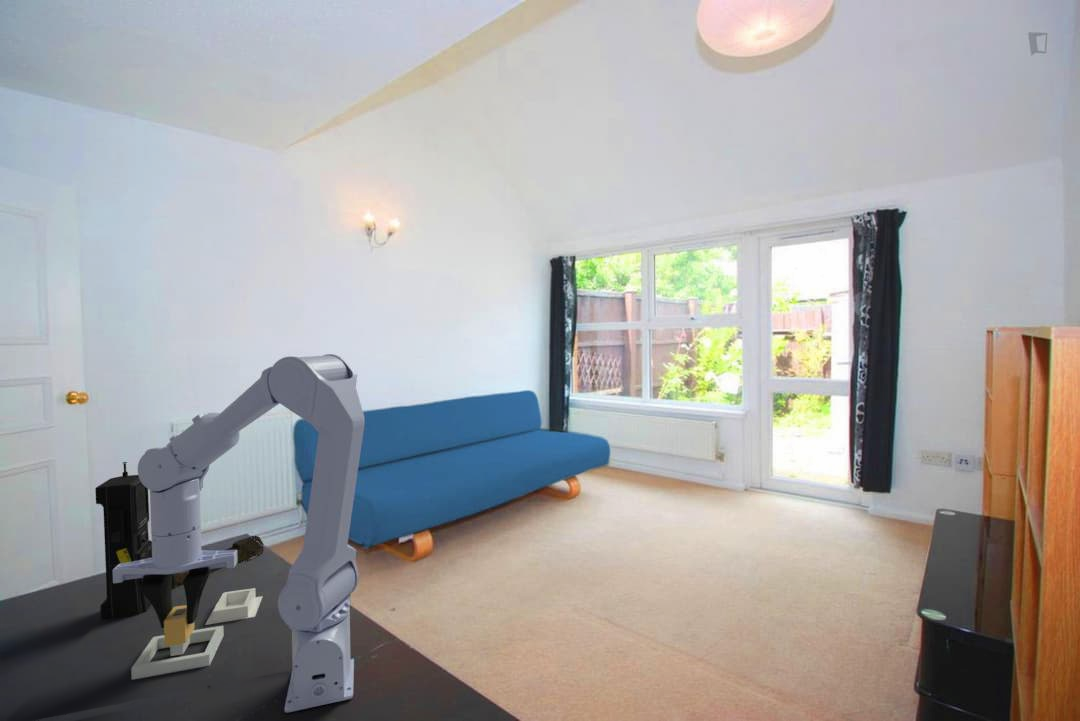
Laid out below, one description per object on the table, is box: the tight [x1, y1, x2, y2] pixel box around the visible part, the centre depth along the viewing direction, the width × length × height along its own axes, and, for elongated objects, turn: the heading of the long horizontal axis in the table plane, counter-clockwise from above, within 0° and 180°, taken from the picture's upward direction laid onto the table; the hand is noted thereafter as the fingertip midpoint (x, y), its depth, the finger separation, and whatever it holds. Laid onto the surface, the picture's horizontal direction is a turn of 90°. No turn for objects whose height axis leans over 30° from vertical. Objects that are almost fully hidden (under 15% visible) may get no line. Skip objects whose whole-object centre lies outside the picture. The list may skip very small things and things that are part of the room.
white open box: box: [205, 587, 264, 626], centre depth 85 cm, size 7×7×3 cm
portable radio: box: [94, 461, 152, 620], centre depth 85 cm, size 8×6×25 cm
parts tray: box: [130, 625, 225, 681], centre depth 73 cm, size 8×9×2 cm
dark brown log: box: [171, 535, 264, 590], centre depth 101 cm, size 19×4×5 cm, turn 151°
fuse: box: [163, 604, 196, 657], centre depth 73 cm, size 4×2×6 cm, turn 19°
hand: (179, 622), depth 73 cm, fingers closed on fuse, 2 cm apart
